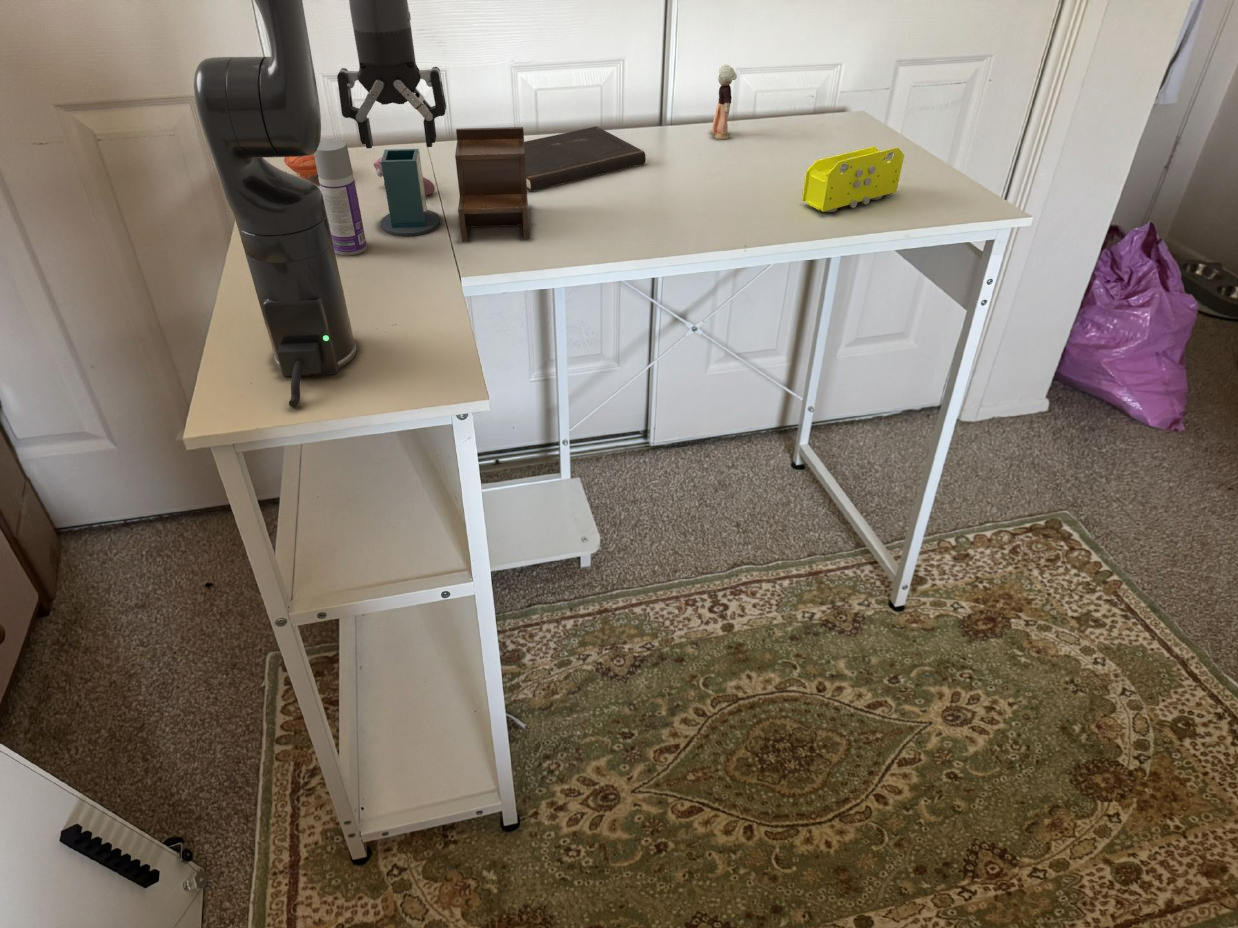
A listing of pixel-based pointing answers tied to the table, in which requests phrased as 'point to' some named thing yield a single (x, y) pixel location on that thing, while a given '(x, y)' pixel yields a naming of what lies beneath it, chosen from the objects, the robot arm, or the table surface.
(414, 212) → the holder
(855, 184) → the yellow toy chassis
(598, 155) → the hardcover book
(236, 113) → the robot arm
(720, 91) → the grandmother figurine
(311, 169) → the pot
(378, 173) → the video game controller
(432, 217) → the coaster
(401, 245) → the table surface
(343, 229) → the container
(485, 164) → the shelf
